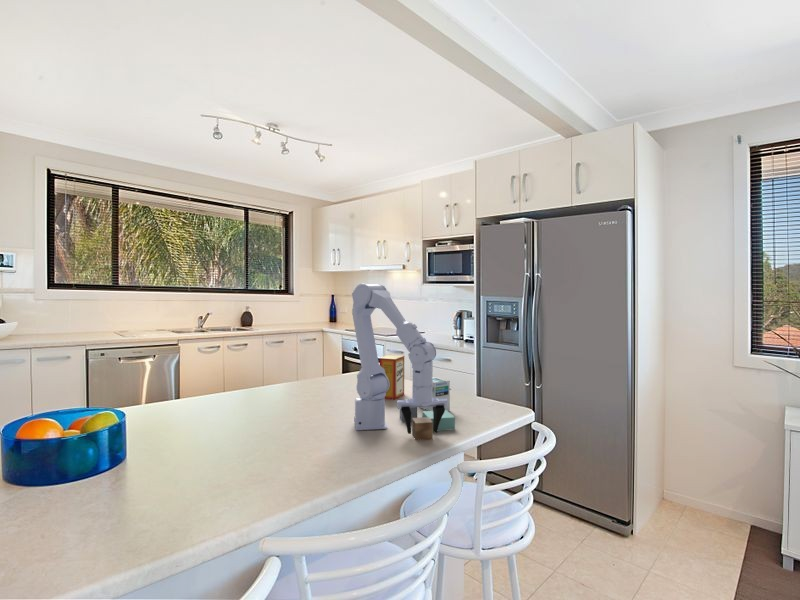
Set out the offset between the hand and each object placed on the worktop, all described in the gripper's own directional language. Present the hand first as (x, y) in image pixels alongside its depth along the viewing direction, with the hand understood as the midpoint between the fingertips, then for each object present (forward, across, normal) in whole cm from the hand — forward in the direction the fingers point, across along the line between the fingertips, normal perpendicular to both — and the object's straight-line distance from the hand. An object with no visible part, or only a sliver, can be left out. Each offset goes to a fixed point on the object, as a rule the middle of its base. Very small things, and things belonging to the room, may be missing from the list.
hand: (422, 432), depth 123 cm
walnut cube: (+2, 0, 0) cm, 2 cm away
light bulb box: (+2, +10, +28) cm, 30 cm away
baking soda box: (+2, -2, +48) cm, 48 cm away
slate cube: (+2, -1, +17) cm, 17 cm away
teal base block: (+2, +7, +9) cm, 12 cm away
